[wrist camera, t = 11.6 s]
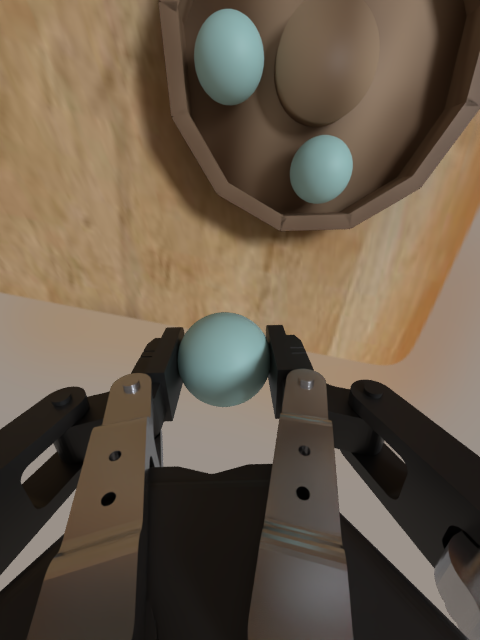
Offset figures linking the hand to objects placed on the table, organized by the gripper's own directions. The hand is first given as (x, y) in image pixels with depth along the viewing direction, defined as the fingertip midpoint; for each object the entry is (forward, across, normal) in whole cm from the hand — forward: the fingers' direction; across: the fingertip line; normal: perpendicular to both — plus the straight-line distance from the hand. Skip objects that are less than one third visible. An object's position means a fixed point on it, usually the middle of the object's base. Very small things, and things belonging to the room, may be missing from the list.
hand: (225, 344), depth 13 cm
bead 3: (+9, -6, -8) cm, 14 cm away
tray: (+12, -6, -13) cm, 19 cm away
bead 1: (+10, 0, -13) cm, 16 cm away
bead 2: (-1, 0, 0) cm, 1 cm away
